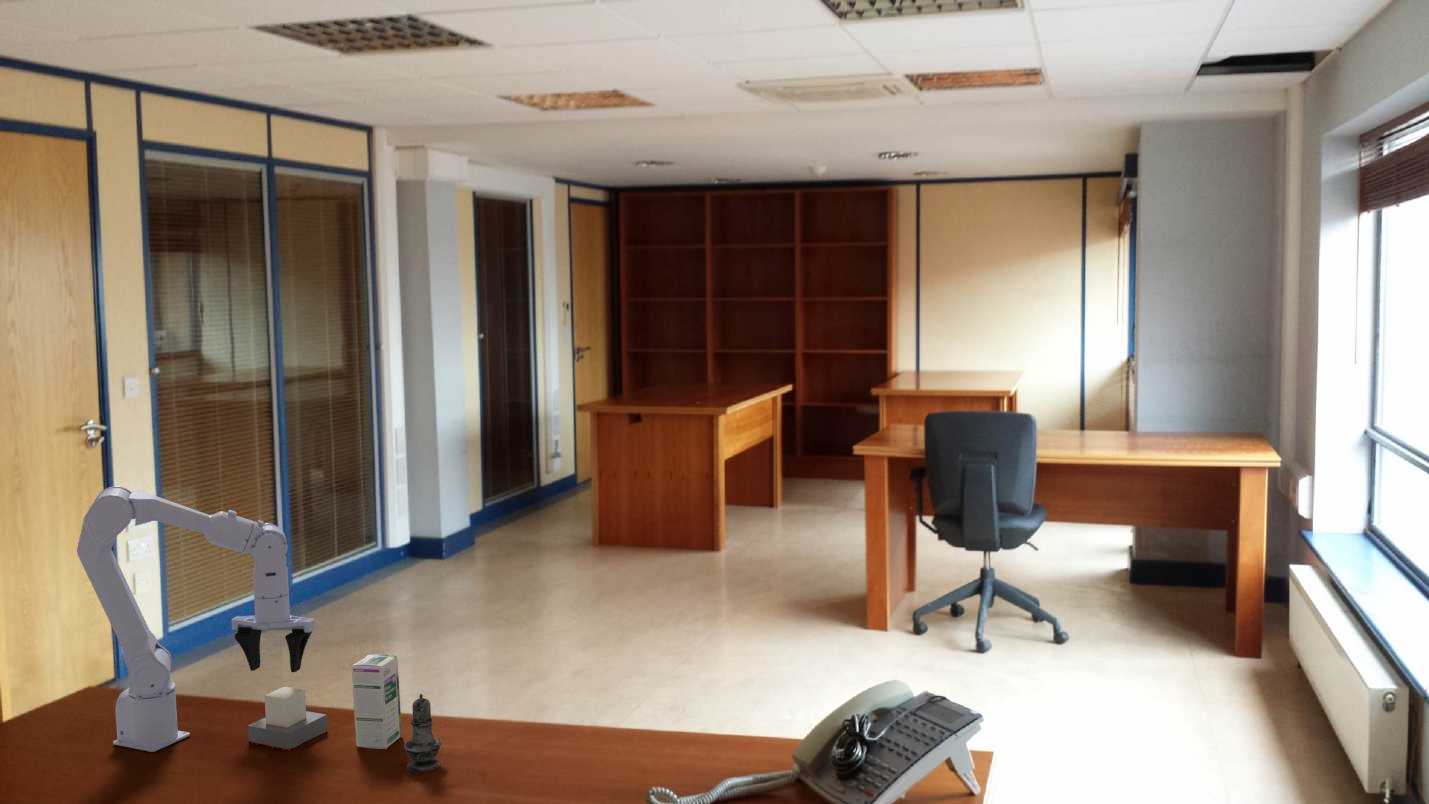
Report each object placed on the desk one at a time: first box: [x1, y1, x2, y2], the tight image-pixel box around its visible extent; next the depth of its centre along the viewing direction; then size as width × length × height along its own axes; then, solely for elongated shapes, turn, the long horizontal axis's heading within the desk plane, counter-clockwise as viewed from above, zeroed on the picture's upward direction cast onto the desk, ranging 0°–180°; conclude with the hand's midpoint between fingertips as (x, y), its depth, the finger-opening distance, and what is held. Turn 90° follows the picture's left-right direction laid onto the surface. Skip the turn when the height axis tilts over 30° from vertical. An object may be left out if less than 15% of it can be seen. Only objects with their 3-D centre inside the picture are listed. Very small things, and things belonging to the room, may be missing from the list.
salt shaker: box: [403, 693, 442, 773], centre depth 191 cm, size 6×6×12 cm
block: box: [247, 710, 328, 749], centre depth 204 cm, size 9×9×3 cm
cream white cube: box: [264, 686, 307, 727], centre depth 203 cm, size 5×5×5 cm
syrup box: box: [351, 653, 403, 750], centre depth 200 cm, size 6×6×14 cm
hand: (275, 669), depth 209 cm, fingers open, 7 cm apart
